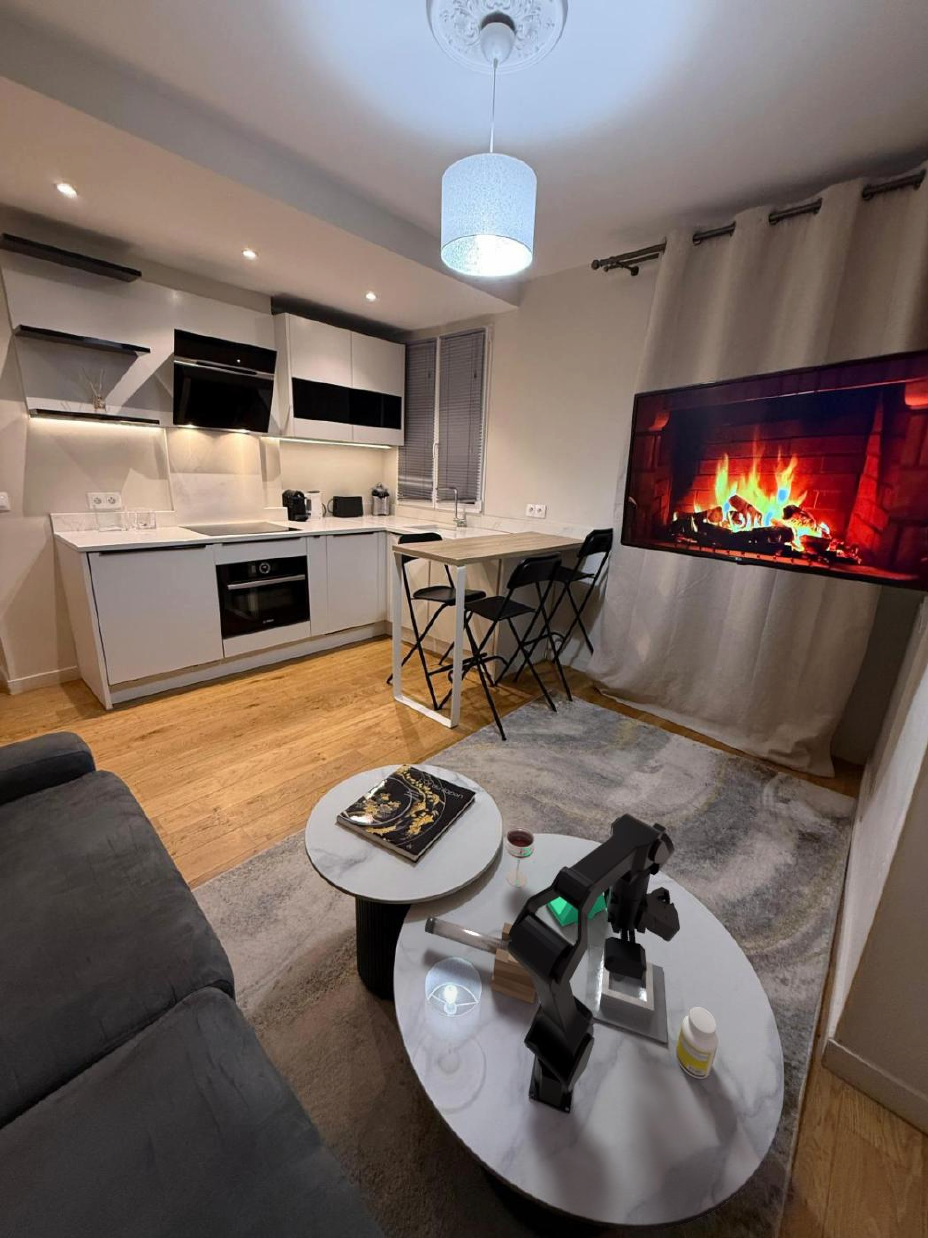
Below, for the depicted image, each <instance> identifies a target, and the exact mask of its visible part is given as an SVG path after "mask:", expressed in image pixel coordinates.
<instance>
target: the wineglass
mask: <svg viewBox="0 0 928 1238" xmlns="http://www.w3.org/2000/svg"><path fill="white" fill-rule="evenodd" d="M505 838H506V839H505V840H504V841H505V842H504V845H505V846H504V847H505V849H506V851H507V854H508V855H509V856H511V857H512V858H513V859H515V860H516V869H513V870H510V871H508V873H507V874H506V876H505V877H506V881H507V882H508V884H509V885H510V886H512V887H515V888H517V887H518V888H519V887H523V886H525V885H526V884H527V883H528V877H527V875H526V873H525V872H523V871H522V870H519V869H520V863H521V862H520V861H522V860H526V859H528V858H530V857H531V856H532V854H533V853H534V850H535V839H536V838H535V836H534V833H532V832H531V830H529V829H528V828H525V827H522V826H521V827H520V826H518V827H516V826H515V827H513V828H510V829H508V830H507V832H506V833H505Z"/></svg>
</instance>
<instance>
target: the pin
mask: <svg viewBox="0 0 928 1238" xmlns="http://www.w3.org/2000/svg"><path fill="white" fill-rule="evenodd" d="M424 933H427V934H430V935H434V936H437V937H439V938H444V939H446V940H449V941H453V942H456V943H459V944H460V945H461V944H462V945H464V946H467V947H471V948H474V949H476V950H479V951H482V952H485V953H487V954H491V955H496V951H497V948H499V949H502V950H505V951H508V941H505V940H502V938H498V937H495V936H492V935H489V934H487V933H483V932H481V931H477V930H474V929H472V928H467V927H465V926H461V925H459V924H456V923H452V922H450V921H446V920H443V919H440V918H438V917H435V916H432V915H429V916H428V917H427V919H426V921H425V925H424Z"/></svg>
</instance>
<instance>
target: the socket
mask: <svg viewBox="0 0 928 1238" xmlns="http://www.w3.org/2000/svg"><path fill="white" fill-rule="evenodd" d="M588 953H589V955H588V964H587V965H588V966H587V975H586V984H585V985H586V988H585V998H584V1005H585V1006H587V1007H588V1008H589V1009H590V1010H591V1012H592V1014H593V1020H594V1021H596V1022H599V1023H602V1024H605V1025H608V1026H610V1027H611V1026H612V1027H613V1028H616V1029H619V1030H623V1031H625V1032H628V1033H631V1034H634V1035H637V1036H640V1037H642V1038H645V1039H648V1040H650V1041H654V1042H656V1043H658V1044H662V1045H665V1046H667V1045H668V1033H667V1032H668V1031H667V1030H668V1028H667V1014H666V1012H667V1011H666V999H665V996H666V995H665V983H664V981H665V979H664V968H663V967H662V966H660V965H656V964H653V962H652V963H651V962H648V961H646V965H647V971H646V976H645V978H644V979H643V980H638V979H635V978H631V977H628V976H626V977H625V978H624V979H623V980H622V981H621V982H618V981H615V980H614V979H613V976H612V974H611V972H609V971H607V970H606V969H605V967H604V948H602V947H599V946H595V945H592V944H590V945H589V952H588Z"/></svg>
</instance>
